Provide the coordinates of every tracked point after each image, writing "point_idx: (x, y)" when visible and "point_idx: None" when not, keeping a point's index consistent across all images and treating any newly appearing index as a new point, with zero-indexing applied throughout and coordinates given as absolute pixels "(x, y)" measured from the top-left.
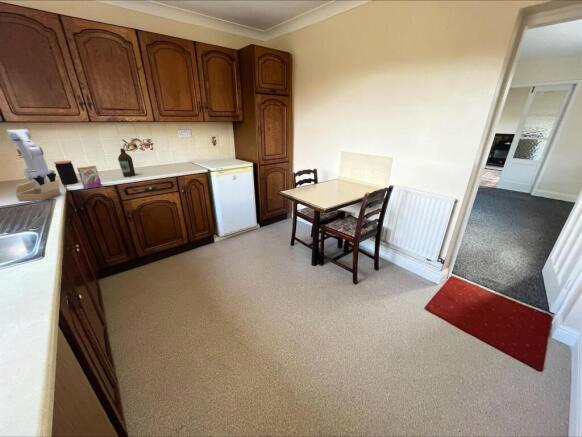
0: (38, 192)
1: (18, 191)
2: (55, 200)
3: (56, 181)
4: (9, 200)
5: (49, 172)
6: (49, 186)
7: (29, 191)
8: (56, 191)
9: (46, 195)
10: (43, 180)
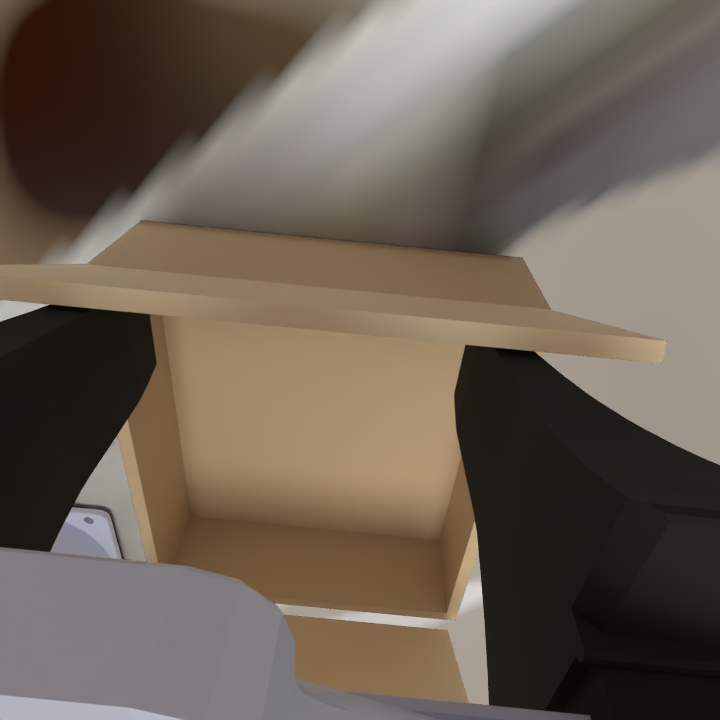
0: (181, 526)
1: (421, 643)
2: (593, 6)
3: (30, 277)
4: (394, 618)
5: (31, 674)
6: (344, 298)
7: (270, 587)
8: (188, 257)
9: (440, 278)
10: (577, 430)
